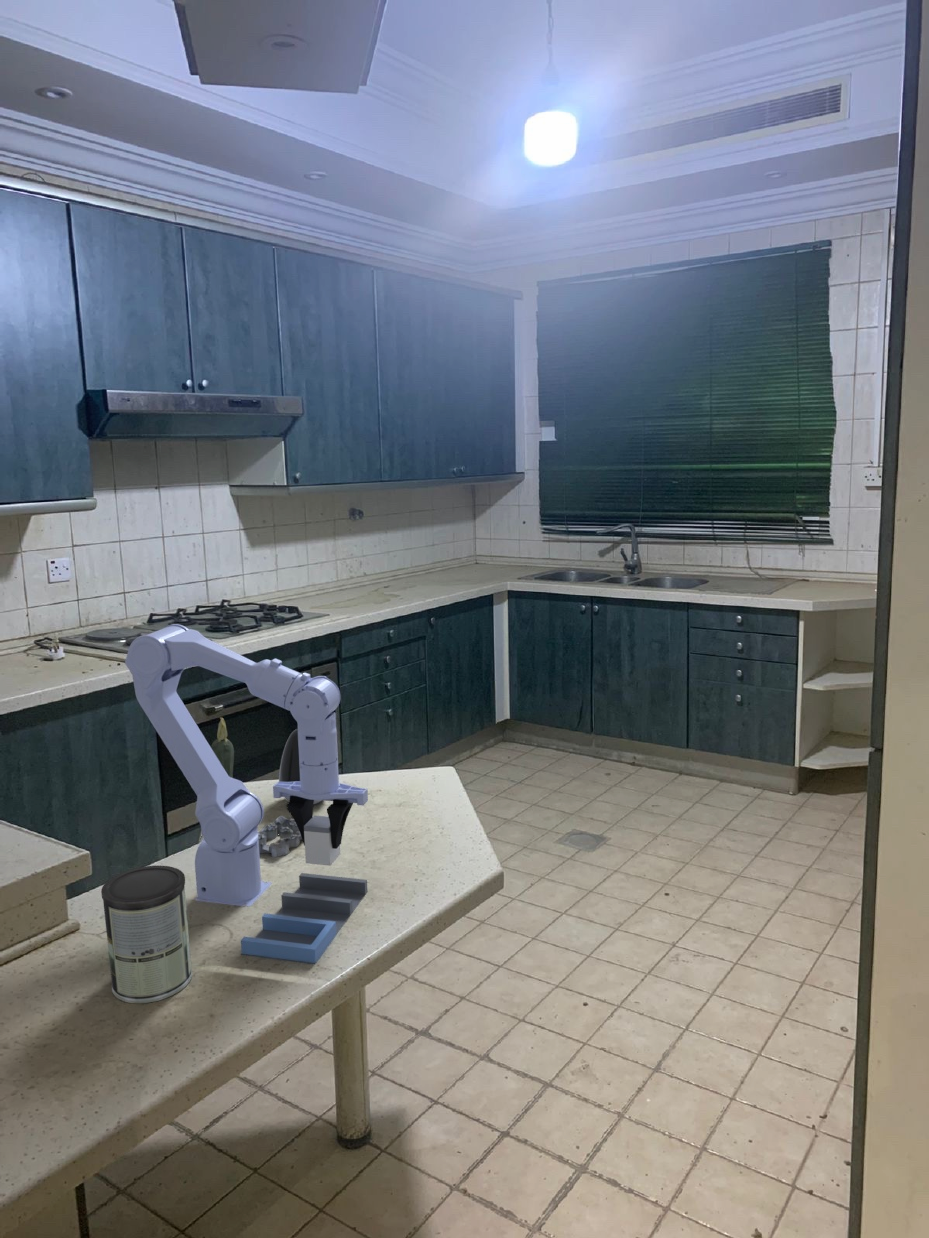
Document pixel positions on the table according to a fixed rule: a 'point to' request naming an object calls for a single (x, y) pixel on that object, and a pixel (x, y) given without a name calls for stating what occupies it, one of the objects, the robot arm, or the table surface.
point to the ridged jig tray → (307, 919)
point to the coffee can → (147, 933)
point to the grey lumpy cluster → (287, 836)
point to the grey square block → (319, 842)
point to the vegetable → (224, 749)
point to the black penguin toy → (291, 762)
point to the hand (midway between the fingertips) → (322, 844)
